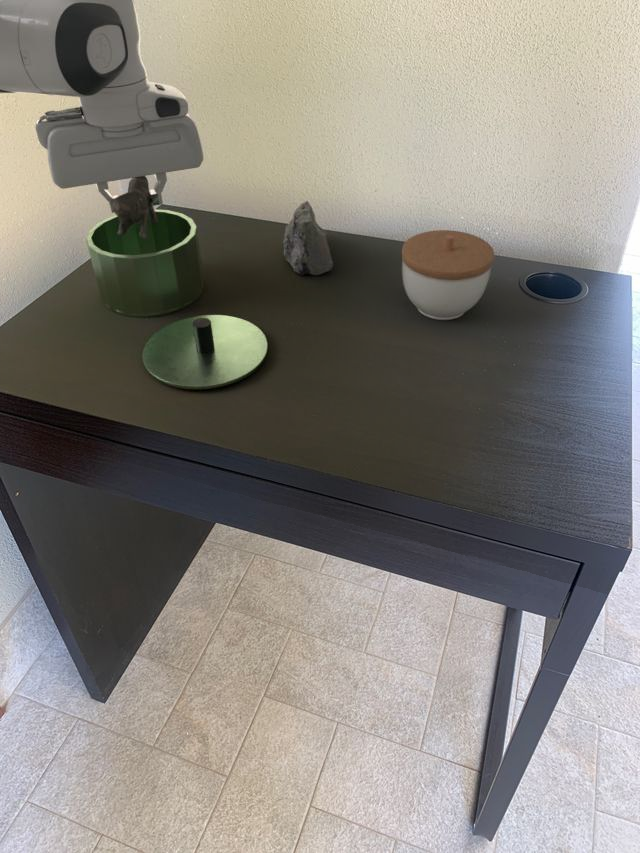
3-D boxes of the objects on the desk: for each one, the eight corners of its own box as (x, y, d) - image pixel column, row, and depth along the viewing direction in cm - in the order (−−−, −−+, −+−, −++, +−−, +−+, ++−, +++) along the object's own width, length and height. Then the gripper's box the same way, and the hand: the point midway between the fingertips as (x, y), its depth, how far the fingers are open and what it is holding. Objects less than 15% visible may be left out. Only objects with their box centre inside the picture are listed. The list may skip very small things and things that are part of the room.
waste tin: (110, 327, 97) (95, 266, 91) (94, 276, 108) (79, 219, 102) (216, 304, 102) (208, 244, 95) (190, 257, 113) (181, 202, 106)
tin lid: (158, 406, 84) (151, 373, 80) (133, 336, 95) (125, 305, 92) (285, 374, 88) (283, 341, 85) (246, 311, 100) (243, 280, 97)
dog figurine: (123, 211, 102) (113, 160, 97) (162, 210, 102) (154, 160, 97) (107, 247, 93) (95, 193, 88) (149, 247, 93) (141, 193, 88)
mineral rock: (295, 236, 118) (292, 178, 112) (353, 245, 115) (355, 187, 109) (263, 270, 109) (259, 209, 103) (326, 281, 106) (326, 220, 100)
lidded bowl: (382, 313, 99) (386, 243, 92) (423, 277, 107) (429, 209, 100) (462, 340, 94) (472, 267, 86) (498, 300, 101) (511, 230, 94)
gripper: (33, 120, 82) (63, 229, 91) (199, 99, 88) (211, 203, 97) (29, 106, 86) (58, 211, 96) (187, 86, 92) (200, 187, 101)
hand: (136, 207), depth 96 cm, fingers closed on dog figurine, 4 cm apart
